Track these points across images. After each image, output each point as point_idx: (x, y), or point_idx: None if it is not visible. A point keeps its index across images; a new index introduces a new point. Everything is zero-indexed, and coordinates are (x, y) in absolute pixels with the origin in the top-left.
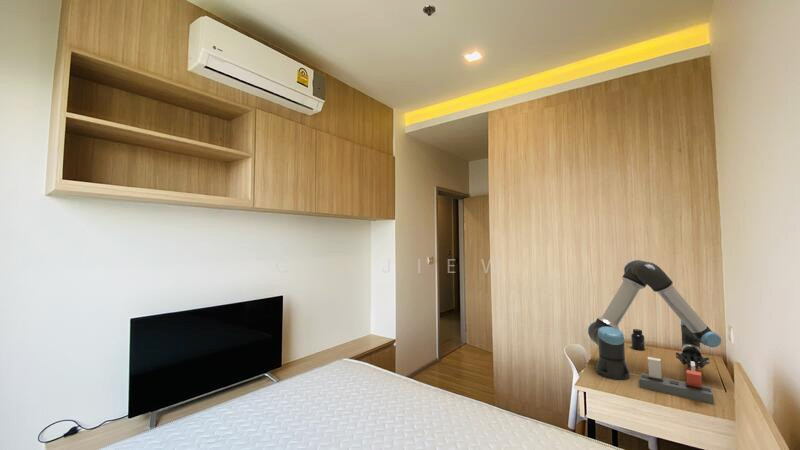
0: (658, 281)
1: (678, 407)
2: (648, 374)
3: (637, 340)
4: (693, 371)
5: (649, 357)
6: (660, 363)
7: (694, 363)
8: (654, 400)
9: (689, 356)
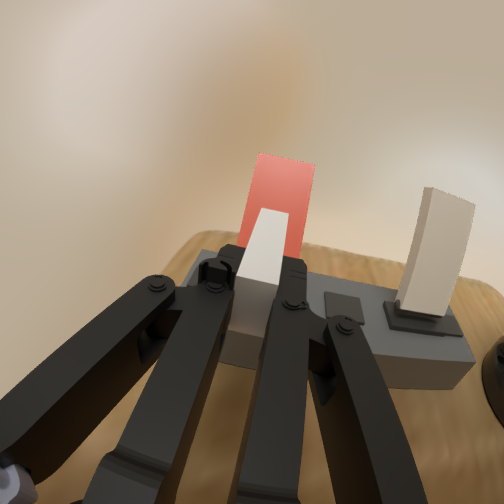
0: None
1: (312, 250)
2: (451, 359)
3: None
4: (288, 159)
5: (468, 201)
6: (421, 202)
7: (252, 240)
8: (369, 266)
9: (253, 491)
